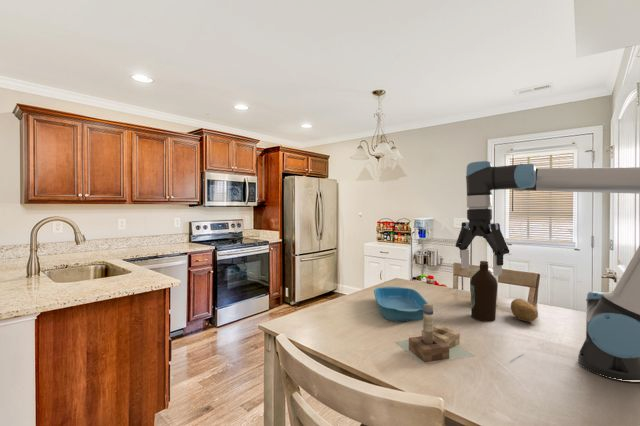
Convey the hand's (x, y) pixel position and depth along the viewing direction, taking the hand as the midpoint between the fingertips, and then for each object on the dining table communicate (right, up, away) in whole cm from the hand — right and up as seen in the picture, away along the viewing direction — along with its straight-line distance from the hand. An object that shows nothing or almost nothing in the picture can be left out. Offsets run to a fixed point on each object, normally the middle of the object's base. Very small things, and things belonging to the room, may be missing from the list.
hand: (480, 271), depth 105 cm
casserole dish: (-17, -27, +42) cm, 53 cm away
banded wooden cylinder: (-19, -26, -3) cm, 32 cm away
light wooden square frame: (-11, -26, +5) cm, 29 cm away
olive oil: (+18, -27, +33) cm, 46 cm away
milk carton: (+30, -26, +52) cm, 65 cm away
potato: (+34, -27, +30) cm, 53 cm away
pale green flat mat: (-15, -27, +1) cm, 31 cm away
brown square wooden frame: (-19, -26, -3) cm, 32 cm away
